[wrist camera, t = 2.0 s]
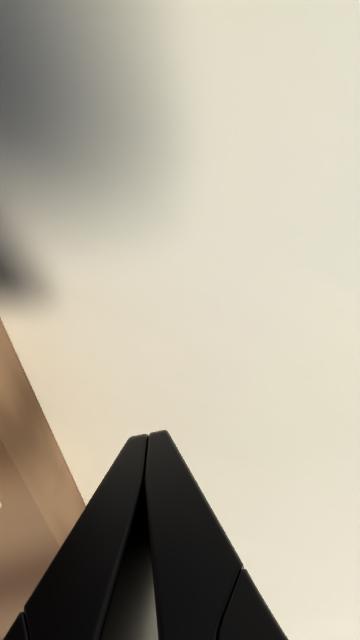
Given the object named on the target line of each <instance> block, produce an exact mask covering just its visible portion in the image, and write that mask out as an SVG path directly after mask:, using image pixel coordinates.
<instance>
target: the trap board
mask: <svg viewBox="0 0 360 640" xmlns="http://www.w3.org/2000/svg"><path fill="white" fill-rule="evenodd" d="M0 502H1V504H2V506H1V508H0V640H3V638H4V637H5V635H6V633H7V632H8V630H9V629H10V627H11V625H12V624H13V622H14V621H15V619H16V617H17V616H18V614H19V613H20V612H24V605H25V603H26V602H27V600H28V599H29V597H30V595H31V594H32V592H33V591H34V589H35V587H36V586H37V584H38V583H39V581H40V579H41V578H42V576H43V575H44V573H45V571H46V570H47V568H48V567H49V565H50V563H51V562H52V560H53V559H54V557H55V555H56V554H57V552H58V551H59V549H60V547H61V546H62V544H63V543H64V541H65V539H66V538H67V536H68V535H69V533H70V531H71V530H72V528H73V527H74V525H75V523H76V522H77V520H78V519H79V517H80V515H81V514H82V512H83V511H84V509H85V507H86V506H85V503H84V501H83V499H82V497H81V495H80V492H79V490H78V488H77V486H76V484H75V481H74V479H73V477H72V475H71V473H70V470H69V468H68V466H67V464H66V462H65V459H64V457H63V455H62V453H61V451H60V448H59V446H58V444H57V442H56V440H55V438H54V435H53V433H52V431H51V429H50V427H49V424H48V422H47V420H46V418H45V416H44V413H43V411H42V409H41V407H40V405H39V402H38V400H37V398H36V396H35V394H34V391H33V389H32V387H31V385H30V383H29V380H28V378H27V376H26V374H25V372H24V369H23V367H22V365H21V363H20V361H19V358H18V356H17V354H16V352H15V350H14V348H13V345H12V343H11V341H10V339H9V337H8V334H7V332H6V330H5V328H4V326H3V323H2V321H1V319H0Z"/></svg>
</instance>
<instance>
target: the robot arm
mask: <svg viewBox="0 0 360 640" xmlns="http://www.w3.org/2000/svg"><path fill="white" fill-rule="evenodd" d="M3 640H288V638H287V637H286V635H285V634H284V632H283V631H282V629H281V628H280V626H279V624H278V623H277V621H276V619H275V618H274V616H273V614H272V613H271V611H270V609H269V608H268V606H267V604H266V603H265V601H264V599H263V598H262V596H261V595H260V593H259V591H258V589H257V588H256V586H255V584H254V582H253V581H252V579H251V577H250V575H249V573H248V572H247V570H246V569H244V566H243V563H242V562H241V560H240V558H239V556H238V554H237V553H236V551H235V549H234V547H233V546H232V544H231V542H230V540H229V539H228V537H227V535H226V533H225V532H224V530H223V528H222V526H221V524H220V523H219V521H218V519H217V517H216V516H215V514H214V512H213V510H212V509H211V507H210V505H209V503H208V502H207V500H206V498H205V496H204V494H203V493H202V491H201V489H200V487H199V486H198V484H197V482H196V480H195V479H194V477H193V475H192V473H191V471H190V470H189V468H188V466H187V464H186V463H185V461H184V459H183V457H182V456H181V454H180V452H179V450H178V449H177V447H176V445H175V443H174V441H173V440H172V438H171V436H170V434H169V433H168V431H166V430H162V431H157V432H152V433H150V434H149V436H148V435H147V434H142V435H137V436H132V437H130V438H129V439H128V440H127V442H126V443H125V445H124V447H123V448H122V450H121V451H120V453H119V455H118V456H117V458H116V459H115V461H114V463H113V464H112V466H111V467H110V469H109V471H108V472H107V474H106V475H105V477H104V479H103V480H102V482H101V483H100V485H99V487H98V488H97V490H96V491H95V493H94V495H93V496H92V498H91V499H90V501H89V503H88V504H87V506H86V507H85V509H84V511H83V512H82V514H81V515H80V517H79V519H78V520H77V522H76V523H75V525H74V527H73V528H72V530H71V531H70V533H69V535H68V536H67V538H66V539H65V541H64V543H63V544H62V546H61V547H60V549H59V551H58V552H57V554H56V555H55V557H54V559H53V560H52V562H51V563H50V565H49V567H48V568H47V570H46V571H45V573H44V575H43V576H42V578H41V579H40V581H39V583H38V584H37V586H36V587H35V589H34V591H33V592H32V594H31V595H30V597H29V599H28V600H27V602H26V603H25V605H24V612H20V613H19V614H18V616H17V617H16V619H15V621H14V622H13V624H12V625H11V627H10V629H9V630H8V632H7V633H6V635H5V637H4V638H3Z"/></svg>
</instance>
